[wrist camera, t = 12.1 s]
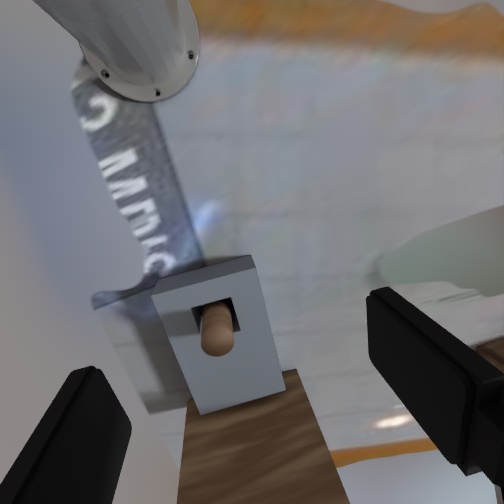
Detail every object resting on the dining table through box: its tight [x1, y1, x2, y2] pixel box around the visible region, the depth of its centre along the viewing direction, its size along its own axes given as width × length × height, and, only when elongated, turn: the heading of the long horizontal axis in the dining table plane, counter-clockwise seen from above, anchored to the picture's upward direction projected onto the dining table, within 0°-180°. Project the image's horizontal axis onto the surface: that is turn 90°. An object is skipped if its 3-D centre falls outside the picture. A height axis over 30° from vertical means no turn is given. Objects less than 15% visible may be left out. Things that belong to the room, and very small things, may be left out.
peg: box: [201, 298, 234, 357], centre depth 36 cm, size 4×4×10 cm
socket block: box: [151, 255, 286, 415], centre depth 40 cm, size 22×14×5 cm, turn 13°
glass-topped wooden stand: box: [177, 369, 350, 504], centre depth 31 cm, size 12×20×32 cm, turn 103°
